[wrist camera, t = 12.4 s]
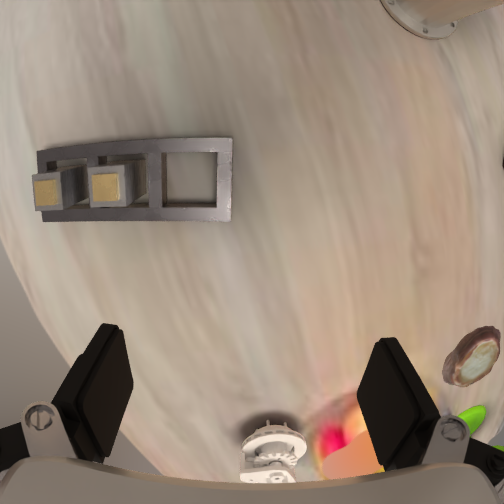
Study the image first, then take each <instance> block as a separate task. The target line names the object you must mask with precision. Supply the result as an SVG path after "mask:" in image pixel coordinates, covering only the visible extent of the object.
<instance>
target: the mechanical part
mask: <svg viewBox="0 0 504 504" xmlns="http://www.w3.org/2000/svg"><path fill="white" fill-rule="evenodd" d="M266 423H267V426H265V427H262V428H260V429H255V432H254V433H253V434H252V435H250V436H249V437H248V438H246V439H245V440H244V442H243V444H242V453H240V479H241V481H244V482H246V483H256V482H257V483H295V482H296V477H295V470H294V466H293V465H296V464H297V459H299V458H300V457H302V456H303V455H304V453H305V452H306V449H307V446H306V440H305V438H304V436H303V435H301V434H300V433H298V432H296V431H293V430H291V429H290V428H288V427H287V423H286V422H284V426H282V425H270V422H269V420H266Z"/></svg>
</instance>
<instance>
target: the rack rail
mask: <svg viewBox="0 0 504 504" xmlns="http://www.w3.org/2000/svg"><path fill="white" fill-rule="evenodd" d="M166 152H218V156H217V203H167V177H166ZM140 153H148V191H149V203H131V204H129V205H128V206H124V207H91V206H90V194H89V204H86V205H72V206H70V207H68V208H66V209H64V210H49V211H42V219H43V222H68V221H215V222H231V208H232V163H233V138H165V139H144V140H128V141H116V142H104V143H94V144H85V145H76V146H68V147H61V148H54V149H47V150H41V151H37V165H38V173H41V172H45V171H49V170H52V169H56V168H57V164H56V161H57V160H66V159H75V158H85V157H87V174H88V168H89V167H93V166H96V165H100V164H104V163H107V156H109V155H123V154H140ZM88 190H89V179H88Z"/></svg>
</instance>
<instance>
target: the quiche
mask: <svg viewBox="0 0 504 504" xmlns="http://www.w3.org/2000/svg"><path fill="white" fill-rule="evenodd" d="M499 353H500V331H499V330H498V329H495V328H494V326H484V327H481V328H477V329H475V330H474V331H473V332H471V333H469V334H467V335H466V336H465V337H464V338H463V339H462V340H461V341H460V342H459V344H458V345H457V347H456V348H455V349H454V350H453V351H452V352H451V353H450V354H449V355H448V356H447V358H446V359H445V363H444V366H443V370H442V374H443V379H444V382H445V383H448V384H449V385H456V386H459V387H467V386H469V385H470V384H473V383H474V382H477V381H478V380H480V379H481V378H483V377H484V376H486V375H487V374H488V373H489V372H490V371H491V369H492V367H493V365H494V363H495V362H496V361H497V359H498V356H499Z"/></svg>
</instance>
